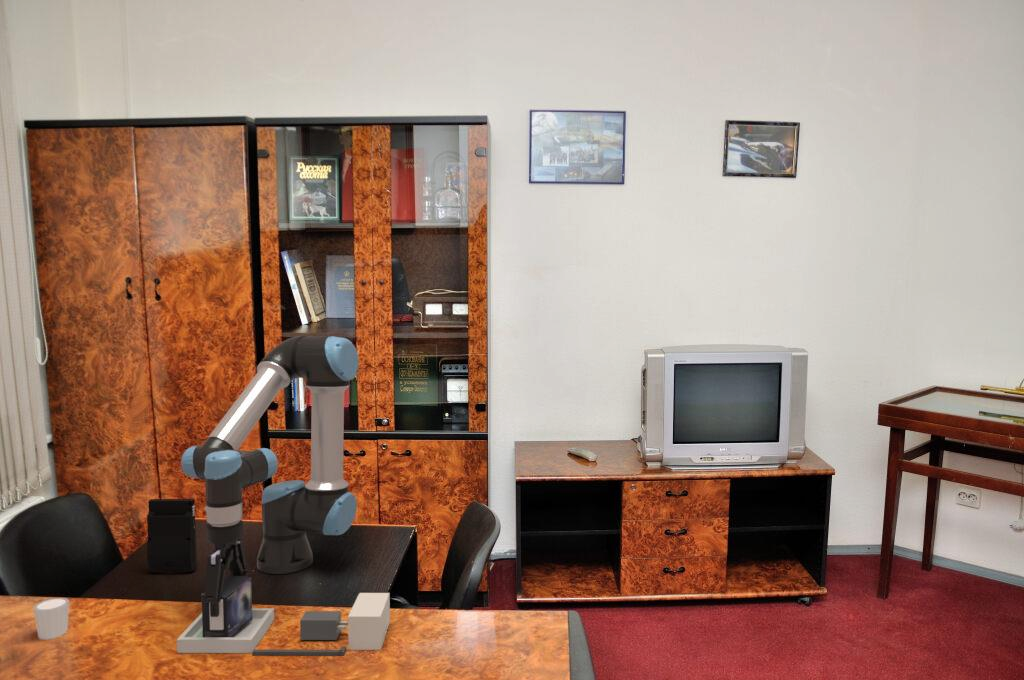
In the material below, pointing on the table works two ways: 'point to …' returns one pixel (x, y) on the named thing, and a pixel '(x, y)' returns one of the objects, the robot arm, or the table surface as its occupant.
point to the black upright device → (171, 536)
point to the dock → (238, 643)
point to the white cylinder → (51, 618)
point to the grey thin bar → (300, 652)
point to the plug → (321, 625)
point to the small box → (231, 607)
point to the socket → (369, 621)
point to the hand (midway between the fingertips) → (227, 616)
